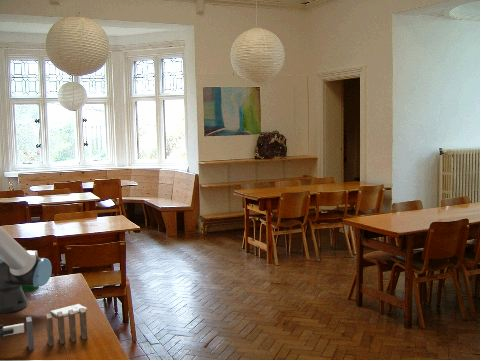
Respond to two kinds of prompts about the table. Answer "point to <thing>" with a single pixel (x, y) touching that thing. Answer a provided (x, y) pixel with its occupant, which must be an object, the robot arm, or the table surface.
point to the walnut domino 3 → (72, 325)
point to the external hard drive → (65, 309)
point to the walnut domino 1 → (50, 329)
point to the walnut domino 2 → (61, 327)
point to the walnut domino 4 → (83, 323)
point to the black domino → (30, 333)
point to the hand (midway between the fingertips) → (23, 327)
